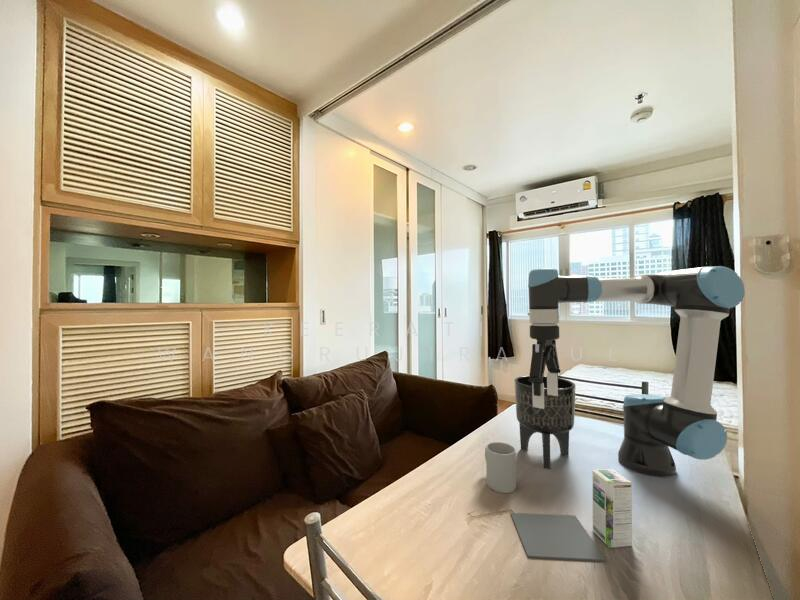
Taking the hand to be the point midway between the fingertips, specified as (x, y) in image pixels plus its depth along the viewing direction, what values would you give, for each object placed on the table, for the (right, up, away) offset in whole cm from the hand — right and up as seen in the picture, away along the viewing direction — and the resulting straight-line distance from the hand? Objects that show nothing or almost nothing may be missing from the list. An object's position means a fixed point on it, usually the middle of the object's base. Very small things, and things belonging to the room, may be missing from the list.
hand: (546, 401), depth 89 cm
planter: (+10, -27, +24) cm, 38 cm away
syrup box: (+8, -27, -15) cm, 32 cm away
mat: (-5, -27, -14) cm, 31 cm away
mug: (-11, -27, +8) cm, 31 cm away
